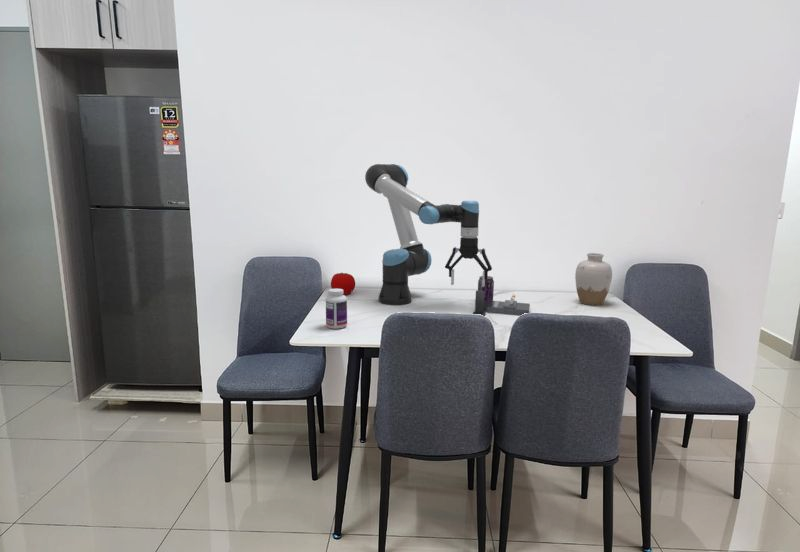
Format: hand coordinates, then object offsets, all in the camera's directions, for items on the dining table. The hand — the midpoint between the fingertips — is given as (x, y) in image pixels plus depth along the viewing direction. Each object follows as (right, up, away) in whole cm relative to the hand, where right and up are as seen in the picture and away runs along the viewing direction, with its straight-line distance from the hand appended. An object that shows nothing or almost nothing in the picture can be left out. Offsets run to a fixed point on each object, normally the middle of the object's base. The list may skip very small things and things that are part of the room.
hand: (467, 285), depth 233 cm
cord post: (+4, -12, -9) cm, 15 cm away
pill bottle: (-54, -15, -29) cm, 63 cm away
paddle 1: (+19, -7, -1) cm, 20 cm away
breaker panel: (+15, -11, -2) cm, 19 cm away
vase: (+59, -9, +14) cm, 61 cm away
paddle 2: (+17, -8, -6) cm, 20 cm away
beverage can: (+9, -8, +11) cm, 17 cm away
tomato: (-57, -5, +25) cm, 63 cm away
